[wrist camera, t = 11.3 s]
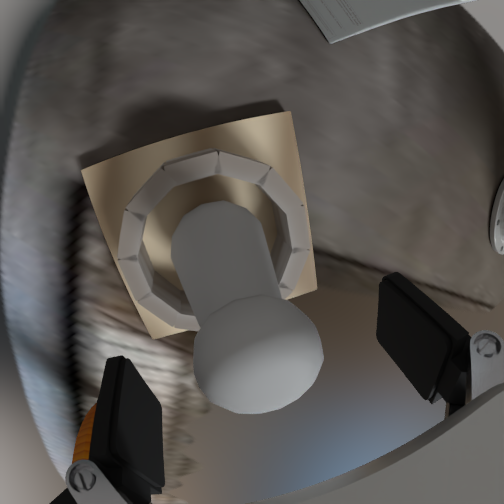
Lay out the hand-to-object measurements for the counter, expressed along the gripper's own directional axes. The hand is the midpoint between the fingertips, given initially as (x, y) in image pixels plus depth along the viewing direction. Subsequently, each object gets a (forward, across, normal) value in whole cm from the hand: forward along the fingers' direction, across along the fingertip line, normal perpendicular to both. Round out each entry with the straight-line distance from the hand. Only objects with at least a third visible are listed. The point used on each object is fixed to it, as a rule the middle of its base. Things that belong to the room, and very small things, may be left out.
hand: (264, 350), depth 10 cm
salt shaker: (+12, +1, 0) cm, 12 cm away
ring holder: (+12, +1, 0) cm, 12 cm away
